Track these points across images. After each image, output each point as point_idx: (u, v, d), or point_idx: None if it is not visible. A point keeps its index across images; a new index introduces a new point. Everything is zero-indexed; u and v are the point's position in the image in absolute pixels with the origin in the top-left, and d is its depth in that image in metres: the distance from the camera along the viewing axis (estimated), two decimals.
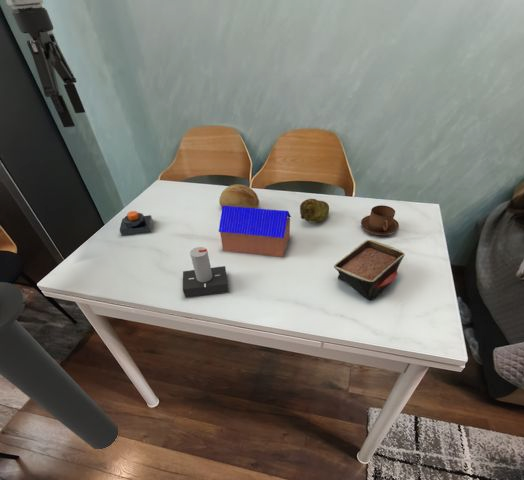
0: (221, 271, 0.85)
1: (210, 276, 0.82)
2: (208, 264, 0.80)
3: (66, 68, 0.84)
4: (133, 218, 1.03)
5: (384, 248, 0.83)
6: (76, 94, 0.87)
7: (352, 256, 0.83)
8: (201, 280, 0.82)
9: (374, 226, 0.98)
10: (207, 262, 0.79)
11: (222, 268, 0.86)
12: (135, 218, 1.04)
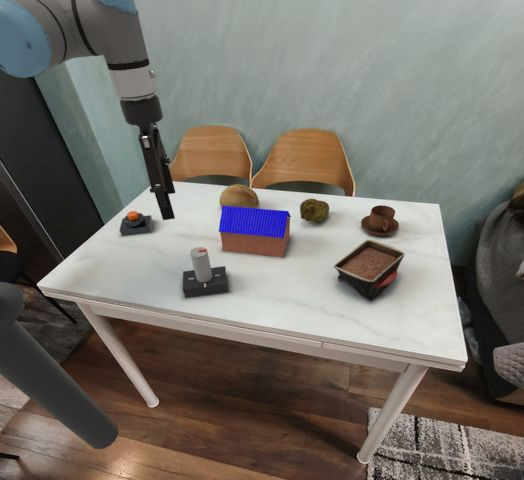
0: (221, 271, 0.85)
1: (210, 276, 0.82)
2: (208, 264, 0.80)
3: None
4: (133, 218, 1.03)
5: (384, 248, 0.83)
6: (169, 176, 0.76)
7: (352, 256, 0.83)
8: (201, 280, 0.82)
9: (374, 226, 0.98)
10: (207, 262, 0.79)
11: (222, 268, 0.86)
12: (135, 218, 1.04)
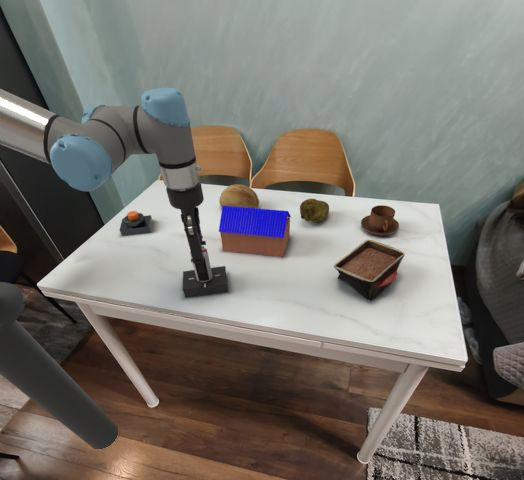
0: (221, 271, 0.85)
1: (210, 276, 0.82)
2: (208, 264, 0.80)
3: None
4: (133, 218, 1.03)
5: (384, 248, 0.83)
6: None
7: (352, 256, 0.83)
8: None
9: (374, 226, 0.98)
10: (207, 262, 0.79)
11: (222, 268, 0.86)
12: (135, 218, 1.04)
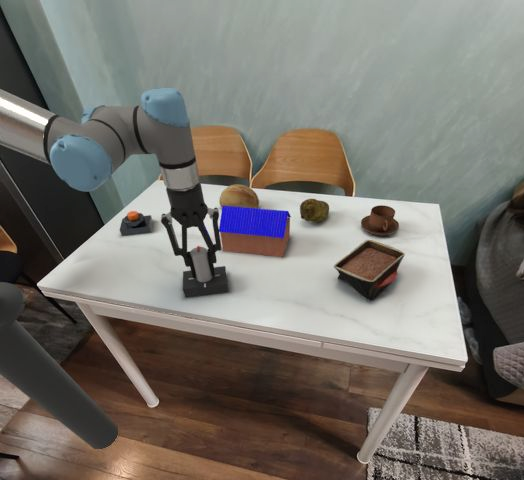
0: (221, 271, 0.85)
1: None
2: None
3: None
4: (133, 218, 1.03)
5: (384, 248, 0.83)
6: None
7: (352, 256, 0.83)
8: (211, 276, 0.83)
9: (374, 226, 0.98)
10: None
11: (222, 268, 0.86)
12: (135, 218, 1.04)
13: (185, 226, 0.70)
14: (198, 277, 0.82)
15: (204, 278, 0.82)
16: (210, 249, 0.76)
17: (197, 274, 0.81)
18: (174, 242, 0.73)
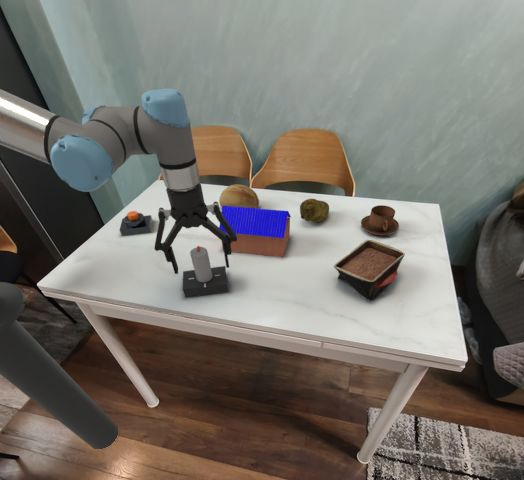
0: (221, 271, 0.85)
1: None
2: None
3: None
4: (133, 218, 1.03)
5: (384, 248, 0.83)
6: (173, 254, 0.78)
7: (352, 256, 0.83)
8: (211, 276, 0.83)
9: (374, 226, 0.98)
10: None
11: (222, 268, 0.86)
12: (135, 218, 1.04)
13: (181, 225, 0.70)
14: (198, 277, 0.82)
15: (204, 278, 0.82)
16: (225, 241, 0.75)
17: (197, 274, 0.81)
18: (160, 237, 0.72)
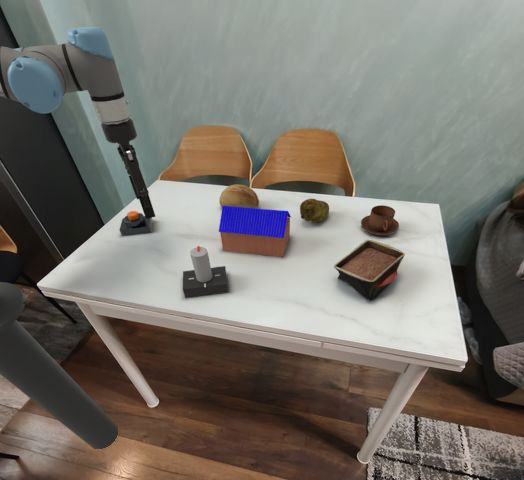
0: (221, 271, 0.85)
1: None
2: None
3: None
4: (133, 218, 1.03)
5: (384, 248, 0.83)
6: None
7: (352, 256, 0.83)
8: (211, 276, 0.83)
9: (374, 226, 0.98)
10: None
11: (222, 268, 0.86)
12: (135, 218, 1.04)
13: None
14: (198, 277, 0.82)
15: (204, 278, 0.82)
16: (136, 190, 0.80)
17: (197, 274, 0.81)
18: None
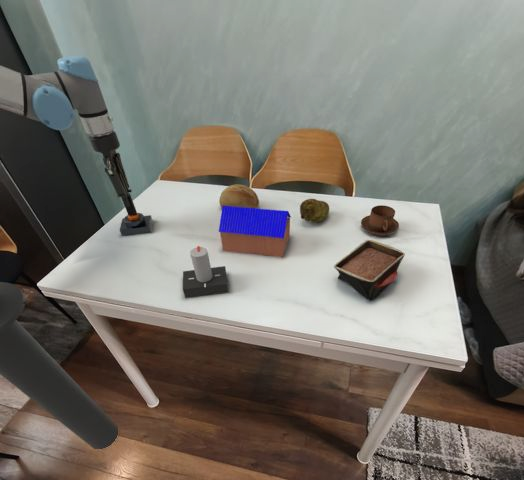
0: (221, 271, 0.85)
1: None
2: None
3: None
4: (134, 219, 1.04)
5: (384, 248, 0.83)
6: None
7: (352, 256, 0.83)
8: (211, 276, 0.83)
9: (374, 226, 0.98)
10: None
11: (222, 268, 0.86)
12: (136, 219, 1.04)
13: None
14: (198, 277, 0.82)
15: (204, 278, 0.82)
16: None
17: (197, 274, 0.81)
18: None
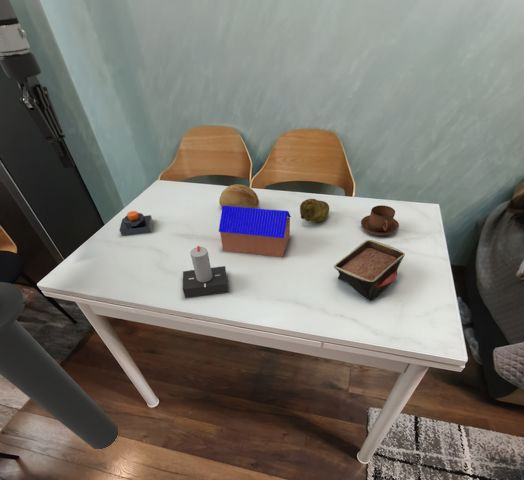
0: (221, 271, 0.85)
1: None
2: None
3: None
4: (133, 218, 1.03)
5: (384, 248, 0.83)
6: None
7: (352, 256, 0.83)
8: (211, 276, 0.83)
9: (374, 226, 0.98)
10: None
11: (222, 268, 0.86)
12: (135, 218, 1.04)
13: None
14: (198, 277, 0.82)
15: (204, 278, 0.82)
16: None
17: (197, 274, 0.81)
18: None
